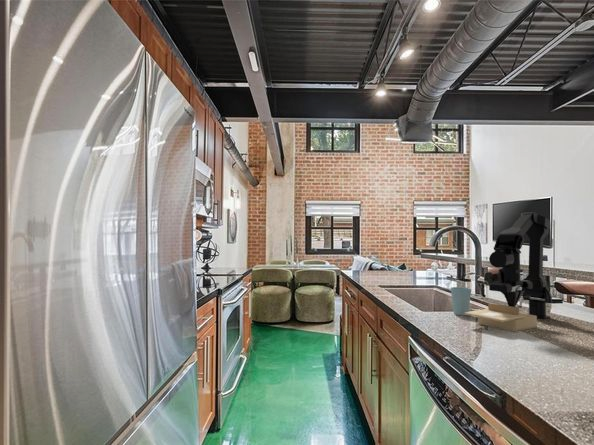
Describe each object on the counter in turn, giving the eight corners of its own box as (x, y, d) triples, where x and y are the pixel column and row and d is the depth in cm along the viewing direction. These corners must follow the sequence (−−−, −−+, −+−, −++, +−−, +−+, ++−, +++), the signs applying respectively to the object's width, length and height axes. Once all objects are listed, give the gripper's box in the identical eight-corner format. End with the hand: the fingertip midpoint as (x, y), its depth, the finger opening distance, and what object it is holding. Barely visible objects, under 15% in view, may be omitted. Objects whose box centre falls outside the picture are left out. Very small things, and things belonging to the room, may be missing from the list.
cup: (458, 311, 150) (458, 286, 150) (475, 315, 143) (475, 289, 143) (446, 313, 146) (446, 287, 146) (463, 317, 139) (463, 290, 140)
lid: (487, 310, 131) (487, 302, 131) (525, 317, 120) (525, 308, 120) (464, 314, 123) (464, 305, 124) (502, 321, 112) (502, 312, 113)
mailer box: (499, 319, 135) (499, 309, 135) (536, 327, 124) (536, 315, 124) (477, 324, 127) (477, 312, 128) (515, 332, 116) (515, 320, 117)
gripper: (502, 263, 140) (503, 303, 139) (474, 265, 130) (475, 308, 130) (533, 265, 131) (534, 308, 130) (505, 268, 121) (506, 314, 120)
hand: (511, 309), depth 128 cm, fingers closed
